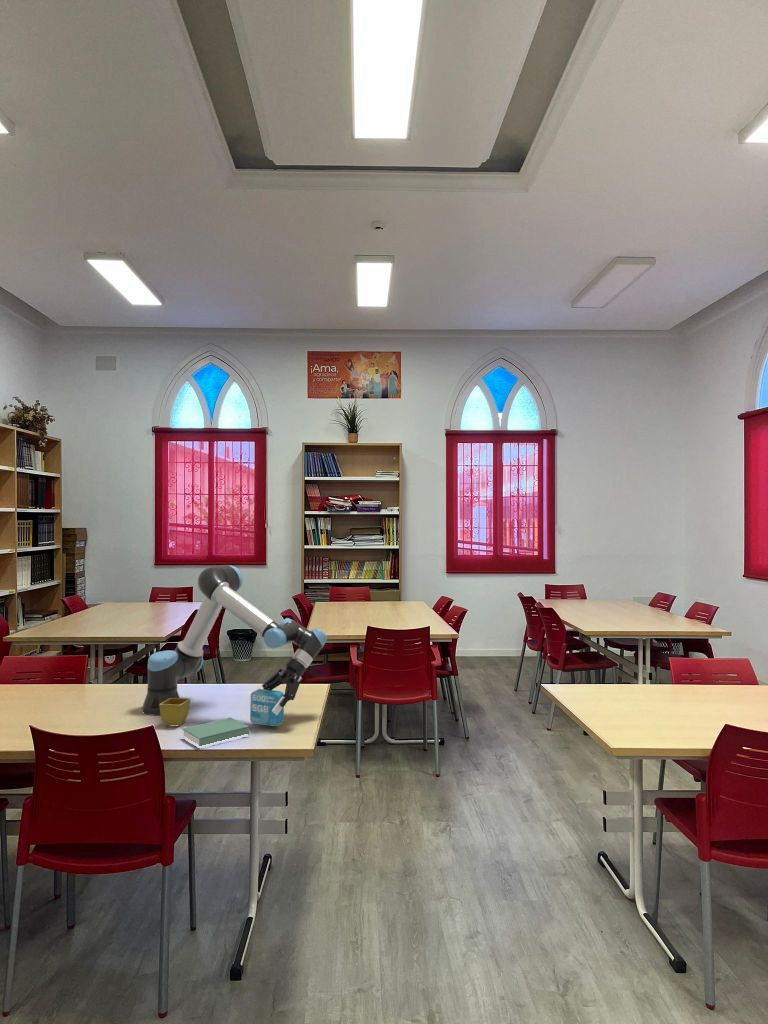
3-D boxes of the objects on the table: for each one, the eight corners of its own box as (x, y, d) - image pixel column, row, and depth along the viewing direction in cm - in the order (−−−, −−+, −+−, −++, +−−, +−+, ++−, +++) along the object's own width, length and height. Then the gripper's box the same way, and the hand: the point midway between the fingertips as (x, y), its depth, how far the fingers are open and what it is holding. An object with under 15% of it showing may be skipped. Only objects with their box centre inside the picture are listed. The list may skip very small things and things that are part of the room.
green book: (182, 739, 217) (182, 728, 217) (230, 728, 230) (230, 717, 230) (199, 750, 207) (199, 738, 207) (249, 737, 220) (249, 726, 220)
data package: (249, 723, 230) (250, 691, 230) (255, 719, 234) (256, 688, 235) (278, 726, 226) (278, 694, 227) (283, 722, 231) (284, 691, 231)
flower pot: (158, 727, 229) (158, 703, 229) (169, 720, 238) (169, 697, 238) (180, 729, 228) (180, 704, 228) (190, 721, 237) (191, 698, 237)
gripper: (322, 674, 233) (288, 722, 223) (287, 663, 251) (254, 707, 241) (311, 663, 230) (276, 711, 219) (276, 652, 248) (242, 696, 237)
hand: (264, 709), depth 230 cm, fingers closed on data package, 12 cm apart
